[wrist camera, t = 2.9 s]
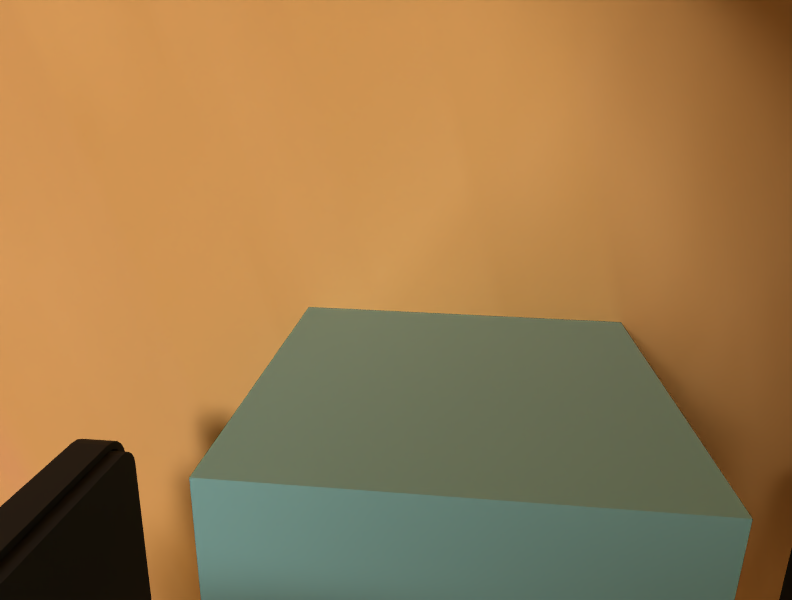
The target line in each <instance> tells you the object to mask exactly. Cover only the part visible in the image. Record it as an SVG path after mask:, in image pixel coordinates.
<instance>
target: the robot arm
mask: <svg viewBox="0 0 792 600" xmlns="http://www.w3.org/2000/svg"><path fill="white" fill-rule="evenodd" d="M0 600H151V592H150V584H149V576H148V567H147V559H146V550H145V542H144V533H143V525H142V516H141V508H140V500H139V491H138V483H137V474H136V466H135V460H134V457H133V455H132V454H131V453H130V452H125V451H124V448H123V446H122V444H121V443H119V442H118V441H106V440H91V439H77V440H76V441H74V442H73V443H71V444H70V445H69V446H68V447H67V448H66V449H65V450H64V451H62V452H61V453H60V454H59V455H58V456H57V457H56V458H55V459H53V460H52V461H51V462H50V463H49V464H48V465H47V466H46V467H44V468H43V469H42V470H41V471H40V472H39V473H38V474H37V475H36V476H34V477H33V478H32V479H31V480H30V481H29V482H28V483H27V484H25V485H24V486H23V487H22V488H21V489H20V490H19V491H18V492H16V493H15V494H14V495H13V496H12V497H11V498H10V499H9V500H7V501H6V502H5V503H4V504H3V505H2V506H1V507H0ZM779 600H792V549H791V554H790V558H789V562H788V566H787V570H786V574H785V578H784V582H783V587H782V591H781V595H780V599H779Z"/></svg>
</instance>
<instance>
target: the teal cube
mask: <svg viewBox="0 0 792 600" xmlns="http://www.w3.org/2000/svg"><path fill="white" fill-rule="evenodd" d="M189 480H190V490H191V501H192V511H193V522H194V532H195V542H196V553H197V563H198V574H199V584H200V594H201V600H735V595H736V591H737V586H738V582H739V577H740V573H741V569H742V564H743V560H744V555H745V551H746V546H747V542H748V537H749V533H750V529H751V524H752V520H753V519H752V517H751V516H750V514H749V513H748V511H747V510H746V508H745V507H744V505H743V504H742V502H741V501H740V499H739V498H738V496H737V495H736V493H735V492H734V490H733V489H732V487H731V486H730V484H729V483H728V481H727V480H726V478H725V477H724V476H723V474H722V473H721V471H720V470H719V468H718V467H717V465H716V464H715V462H714V461H713V459H712V458H711V456H710V455H709V453H708V452H707V450H706V449H705V447H704V446H703V444H702V443H701V441H700V440H699V438H698V437H697V435H696V434H695V432H694V431H693V429H692V428H691V426H690V425H689V423H688V422H687V420H686V419H685V417H684V416H683V414H682V413H681V411H680V410H679V408H678V407H677V405H676V404H675V402H674V401H673V399H672V398H671V396H670V395H669V393H668V392H667V390H666V389H665V388H664V386H663V385H662V383H661V382H660V380H659V379H658V377H657V376H656V374H655V373H654V371H653V370H652V368H651V367H650V365H649V364H648V362H647V361H646V359H645V358H644V356H643V355H642V353H641V352H640V350H639V349H638V347H637V346H636V344H635V343H634V341H633V340H632V338H631V337H630V335H629V334H628V332H627V331H626V329H625V328H624V326H623V325H622V323H621V322H605V321H585V320H564V319H544V318H523V317H503V316H482V315H461V314H441V313H420V312H400V311H379V310H359V309H338V308H317V307H309V308H308V309H307V311H306V312H305V313H304V315H303V316H302V318H301V319H300V321H299V322H298V323H297V325H296V326H295V328H294V329H293V331H292V332H291V333H290V335H289V336H288V338H287V339H286V340H285V342H284V343H283V345H282V346H281V348H280V349H279V350H278V352H277V353H276V355H275V356H274V358H273V359H272V360H271V362H270V363H269V365H268V366H267V368H266V369H265V370H264V372H263V373H262V375H261V376H260V378H259V379H258V380H257V382H256V383H255V385H254V386H253V387H252V389H251V390H250V392H249V393H248V395H247V396H246V397H245V399H244V400H243V402H242V403H241V405H240V406H239V407H238V409H237V410H236V412H235V413H234V415H233V416H232V417H231V419H230V420H229V422H228V423H227V425H226V426H225V427H224V429H223V430H222V432H221V433H220V435H219V436H218V437H217V439H216V440H215V442H214V443H213V444H212V446H211V447H210V449H209V450H208V452H207V453H206V454H205V456H204V457H203V459H202V460H201V462H200V463H199V464H198V466H197V467H196V469H195V470H194V472H193V473H192V474H191V476H190V477H189Z"/></svg>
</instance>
